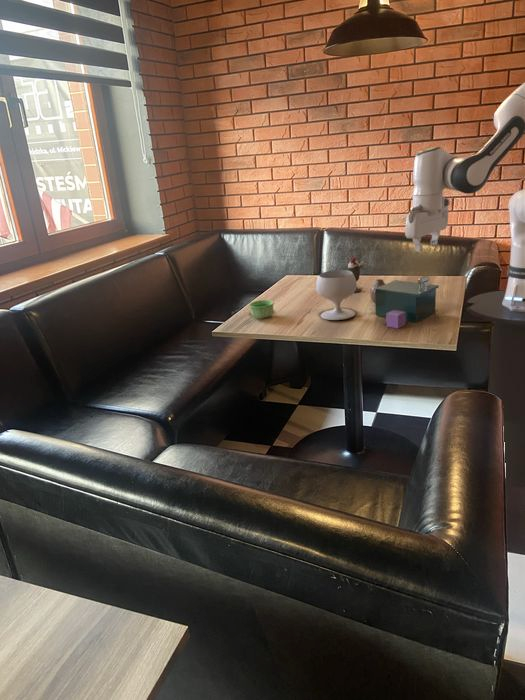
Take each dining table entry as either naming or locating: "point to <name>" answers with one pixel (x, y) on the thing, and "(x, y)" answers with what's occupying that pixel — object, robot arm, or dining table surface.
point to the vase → (377, 284)
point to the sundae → (355, 269)
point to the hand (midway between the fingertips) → (426, 248)
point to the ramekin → (261, 308)
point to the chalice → (336, 292)
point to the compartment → (406, 304)
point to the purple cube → (395, 319)
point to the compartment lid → (408, 287)
